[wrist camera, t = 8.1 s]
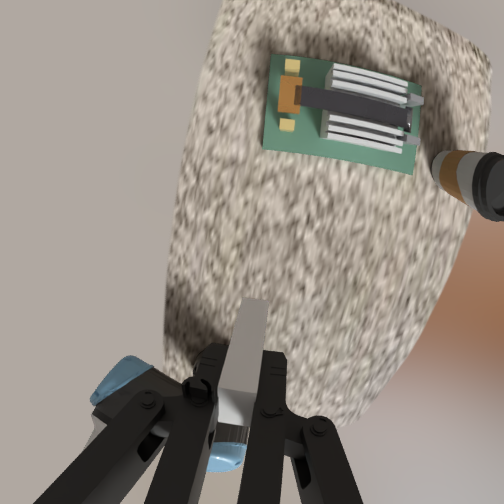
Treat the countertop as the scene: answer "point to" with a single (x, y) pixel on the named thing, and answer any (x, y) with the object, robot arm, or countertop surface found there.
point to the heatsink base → (313, 122)
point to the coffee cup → (473, 180)
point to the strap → (339, 103)
